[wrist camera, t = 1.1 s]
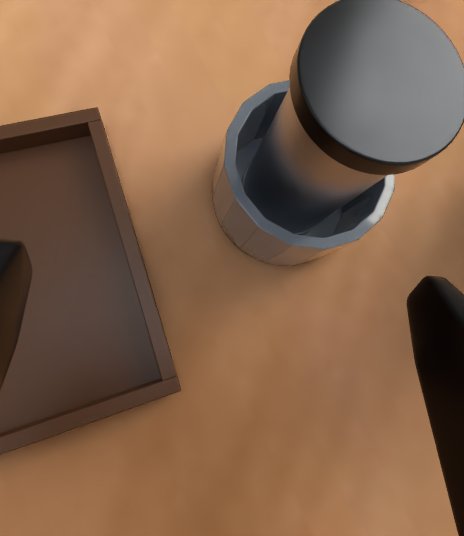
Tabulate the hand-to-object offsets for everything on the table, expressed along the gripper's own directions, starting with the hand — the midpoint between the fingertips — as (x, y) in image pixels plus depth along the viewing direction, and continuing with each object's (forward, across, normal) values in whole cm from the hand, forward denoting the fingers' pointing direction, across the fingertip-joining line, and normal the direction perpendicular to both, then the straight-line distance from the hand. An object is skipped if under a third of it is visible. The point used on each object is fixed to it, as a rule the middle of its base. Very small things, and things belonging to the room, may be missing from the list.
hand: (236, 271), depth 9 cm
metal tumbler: (+14, -5, +8) cm, 17 cm away
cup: (+14, -5, +9) cm, 18 cm away
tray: (+9, +9, +12) cm, 18 cm away
